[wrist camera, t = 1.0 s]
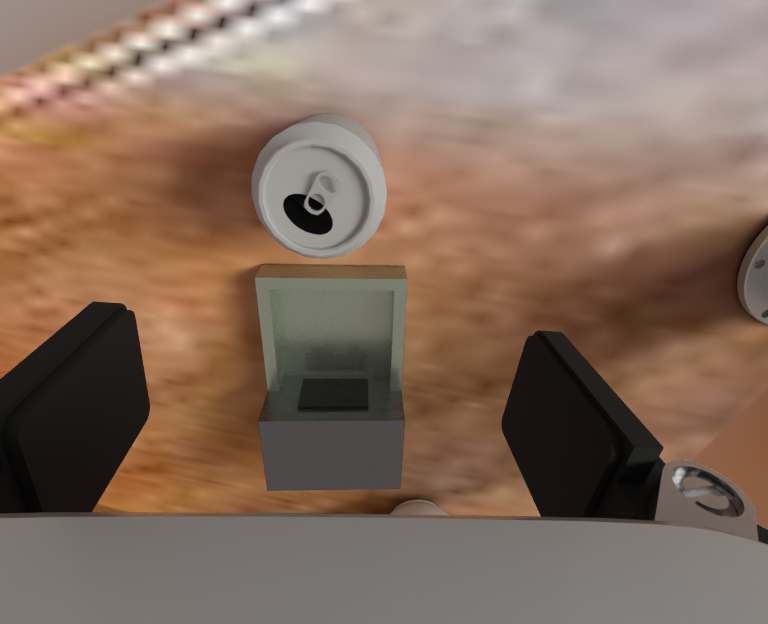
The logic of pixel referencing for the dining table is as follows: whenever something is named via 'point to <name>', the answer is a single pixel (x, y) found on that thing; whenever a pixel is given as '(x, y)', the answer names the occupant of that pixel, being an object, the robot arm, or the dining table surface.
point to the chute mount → (332, 375)
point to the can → (320, 187)
